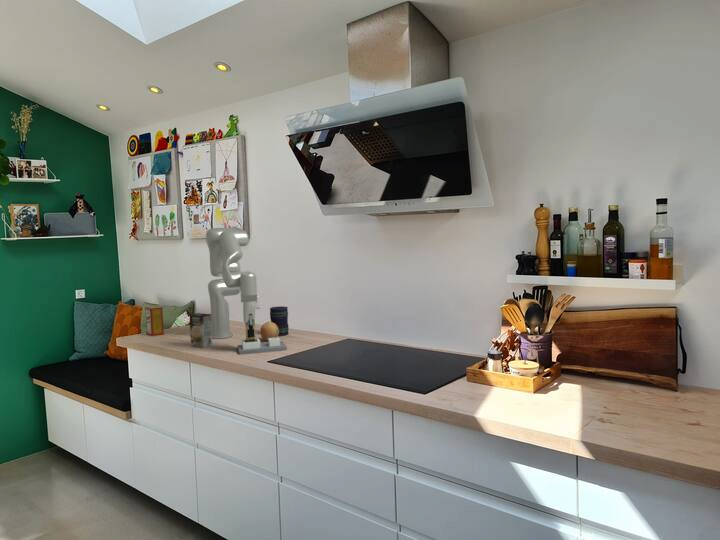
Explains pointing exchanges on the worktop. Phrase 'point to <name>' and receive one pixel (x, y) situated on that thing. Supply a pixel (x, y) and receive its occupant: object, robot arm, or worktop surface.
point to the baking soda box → (154, 320)
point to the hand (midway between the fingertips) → (250, 336)
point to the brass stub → (247, 335)
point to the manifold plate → (261, 346)
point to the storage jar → (280, 319)
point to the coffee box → (200, 330)
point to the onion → (269, 330)
